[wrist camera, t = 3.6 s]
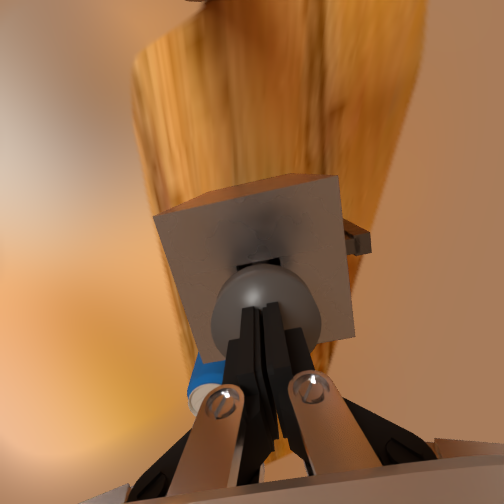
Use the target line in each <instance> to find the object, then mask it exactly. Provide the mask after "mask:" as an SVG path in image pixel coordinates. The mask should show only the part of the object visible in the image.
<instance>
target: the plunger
mask: <svg viewBox="0 0 504 504" xmlns="http://www.w3.org/2000/svg"><path fill="white" fill-rule="evenodd" d="M279 264H280V260H279V257H278V258H273V259H268V260H263V261H258V262H253V263H248V264H243V265H238V267H239V271H238V272H236V273H235V274H233V275H232V276H231V277H230V278H229V279H228V280H227V281H226V282H225V283H224V284H223V286H222V287H221V289H220V291H219V294H218V296H217V300H216V303H215V307H214V310H213V314H212V318H211V334H212V338H213V341H214V343H215V345H216V347H217V349H218V350H219V351H220V353H221V354H222V355H223V356H224V357H225V358H226V354H227V347H228V342H229V340H233V339H238V338H239V337H240V325H241V313H242V308H246V307H251V306H254V308H255V309H258V308H259V310H260V314H261V318H262V322H263V309H262V308H263V307H267V303H272V302H277V301H278V303H279V308H280V313H281V318H282V323H283V327H284V330H287V329H293V328H298V327H301V328H302V330H303V334H304V337H305V340H306V343H307V346H308V349H309V353H311V352H312V351H313V349H314V348H315V346H316V344H317V342H318V340H319V337H320V333H321V326H322V323H321V316H320V312H319V309H318V307H317V304H316V302H315V300H314V298H313V296H312V294H311V292H310V290H309V288H308V286H307V285H306V283H305V282H304V281H303V280H302V279H301V278H300V277H299V276H298V275H297V274H295V273H294V272H292V271H291V270H289V269H287V268H284V267H281V266H277V265H279ZM263 327H264V323H263Z"/></svg>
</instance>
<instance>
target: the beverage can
mask: <svg viewBox="0 0 504 504" xmlns="http://www.w3.org/2000/svg"><path fill="white" fill-rule="evenodd" d="M224 367H225V360H223V361H217V362H211V363H206V364H203V362H202V359H201V357H200V354H199V352H198V356H197V359H196V362H195V366H194V369H193V372H192V376H191V379H190V382H189V386H188V390H187V396H188V406H189V409H190V411H191V412H192V413H193V414H194V415H195V416H197V414H198V411H199V408H200V406H201V403H202V401H203V400H204V398H205V396H206V395H207V394H208V393H209V392H210V391H212V390H213V389H214V388H216V387H218V386H221V385H222V381H223V374H224Z"/></svg>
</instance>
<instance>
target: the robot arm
mask: <svg viewBox="0 0 504 504" xmlns="http://www.w3.org/2000/svg"><path fill="white" fill-rule="evenodd" d="M186 1H196V2H197V1H198V2H202V1H206V0H186ZM262 309H263V322H262V318H261V314H260V310H259V308H258V309H255V308H254V306H251V307H246V308H242V313H241V325H240V337H239V338H238V339H233V340H229V342H228V347H227V354H226V360H225V367H224V374H223V381H222V385H221V386H218V387H216V388H214V389H213V390H212V391H210V392H209V393H208V394H207V395H206V396H205V398H204V400H203V401H202V403H201V406H200V408H199V411H198V414H197V416H196V419H195V422H194V424H193V427H192V428H191V429H190V430H189V431H188V432H187V433H186V434H185V435H184V436H183V437H182V438H181V439H180V440H179V441H177V442H176V443H175V444H174V445H173V446H172V447H171V448H170V449H169V450H168V451H167V452H166V453H165V454H164V455H163V456H162V457H161V458H159V459H158V460H157V461H156V462H155V463H154V464H153V465H152V466H151V467H150V468H149V469H148V470H147V471H146V472H145V473H144V474H143V475H142V476H141V477H140V478H139V479H138V481H136V483H135V485H134V486H132V487H130V485H129V484H128V483H127V484H125V485H123V486H120V487H118V488H115V489H113V490H110V491H108V492H105V493H103V494H101V495H98V496H96V497H93V498H91V499H88V500H86V501H83V502H81V503H79V504H504V444H499V443H488V442H476V441H464V440H451V439H440V438H435V440H434V441H435V442H434V443H433V442H424V441H423V440H422V439H421V438H419V437H418V436H416V435H415V434H413V433H411V432H409V431H407V430H406V429H404V428H401V427H400V426H398V425H396V424H394V423H392V422H390V421H388V420H386V419H384V418H382V417H380V416H378V415H376V414H374V413H372V412H371V411H368V410H367V409H365V408H363V407H361V406H359V405H357V404H355V403H353V402H351V401H349V400H347V399H345V398H343V397H342V396H341V395H340V393H339V391H338V389H337V388H336V386H335V384H334V383H333V381H332V380H331V379H330V378H329V377H328V376H327V375H326V374H324V373H322V372H319V371H315V369H314V365H313V362H312V359H311V356H310V353H309V349H308V346H307V343H306V340H305V337H304V334H303V330H302V328H301V327H298V328H293V329H287V330H284V327H283V323H282V318H281V313H280V308H279V303H278V301H277V302H272V303H267V307H263V308H262ZM263 323H264V327H263ZM276 410H277V412H276ZM277 414H278V418H279V422H280V426H281V430H282V434H283V438H288V442H289V446H290V450H292V451H293V452H294V453H295V454H297V455H298V456H299V457H300V458H302V459H303V461H304V465H305V469H306V472H307V475H308V476H307V477H301V478H293V479H286V480H279V481H272V482H265V483H264V472H265V470H264V461H265V459H266V458H267V457H268V455H269V454H270V453H271V452H273V451H275V450H274V440H276V439H279V432H278V422H277Z"/></svg>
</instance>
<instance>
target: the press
mask: <svg viewBox="0 0 504 504" xmlns="http://www.w3.org/2000/svg"><path fill="white" fill-rule="evenodd" d="M153 219H154V222H155V225H156V228H157V231H158V234H159V237H160V239H161V242H162V245H163V248H164V251H165V254H166V257H167V260H168V263H169V266H170V269H171V272H172V275H173V278H174V280H175V283H176V286H177V289H178V292H179V295H180V298H181V301H182V304H183V307H184V310H185V313H186V316H187V319H188V321H189V324H190V327H191V330H192V333H193V336H194V339H195V342H196V345H197V348H198V351H199V354H200V357H201V359H202V362H203V364H206V363H211V362H217V361H223V360H226V358H225V357H224V356H223V355H222V354H221V353H220V351H219V350H218V349H217V347H216V345H215V343H214V341H213V338H212V334H211V318H212V314H213V310H214V307H215V303H216V300H217V296H218V294H219V291H220V289H221V287H222V286H223V284H224V283H225V282H226V281H227V280H228V279H229V278H230V277H231V276H232V275H233V274H235V273H236V272H238V271H239V267H238V265H243V264H248V263H253V262H258V261H263V260H268V259H273V258H278V257H279V260H280V264H279V265H277V266H281V267H284V268H287V269H289V270H291V271H292V272H294V273H295V274H297V275H298V276H299V277H300V278H301V279H302V280H303V281H304V282H305V283H306V285H307V286H308V288H309V290H310V292H311V294H312V296H313V298H314V300H315V302H316V304H317V307H318V309H319V312H320V316H321V323H322V326H321V333H320V337H319V340H318V342H317V344H318V343H324V342H329V341H335V340H341V339H346V338H352V337H355V329H354V320H353V311H352V301H351V292H350V283H349V273H348V264H347V255H350V254H354V255H355V256H358V255H363V254H368V253H372V252H371V238H370V232H369V231H367V230H365V229H363V228H361V227H359V226H357V225H355V224H353V223H351V222H349V221H347V220H345V219H343V217H342V208H341V199H340V190H339V180H338V175H316V174H291V173H290V174H285V175H281V176H276V177H272V178H268V179H263V180H259V181H254V182H250V183H246V184H241V185H237V186H232V187H228V188H223V189H219V190H215V191H210V192H207V193H204V194H202V195H200V196H198V197H196V198H193V199H191V200H189V201H187V202H184V203H182V204H180V205H178V206H175V207H173V208H171V209H169V210H166V211H164V212H162V213H160V214H157V215H155V216H153Z"/></svg>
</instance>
